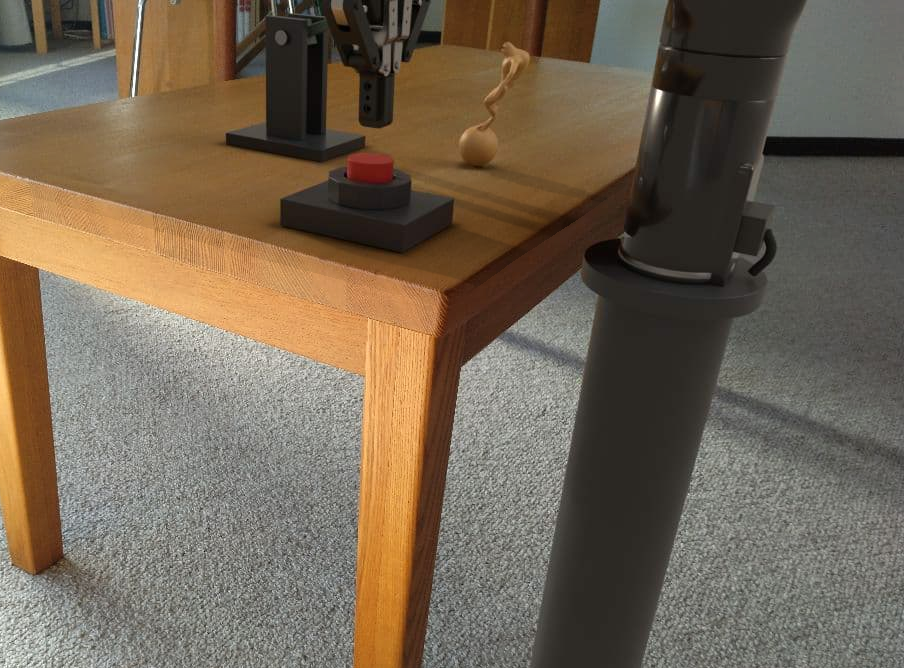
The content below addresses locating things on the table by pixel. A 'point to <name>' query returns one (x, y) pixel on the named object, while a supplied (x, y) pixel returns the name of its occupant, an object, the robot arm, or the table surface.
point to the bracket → (296, 96)
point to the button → (370, 168)
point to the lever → (316, 30)
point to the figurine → (492, 110)
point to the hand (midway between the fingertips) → (375, 125)
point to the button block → (368, 211)
